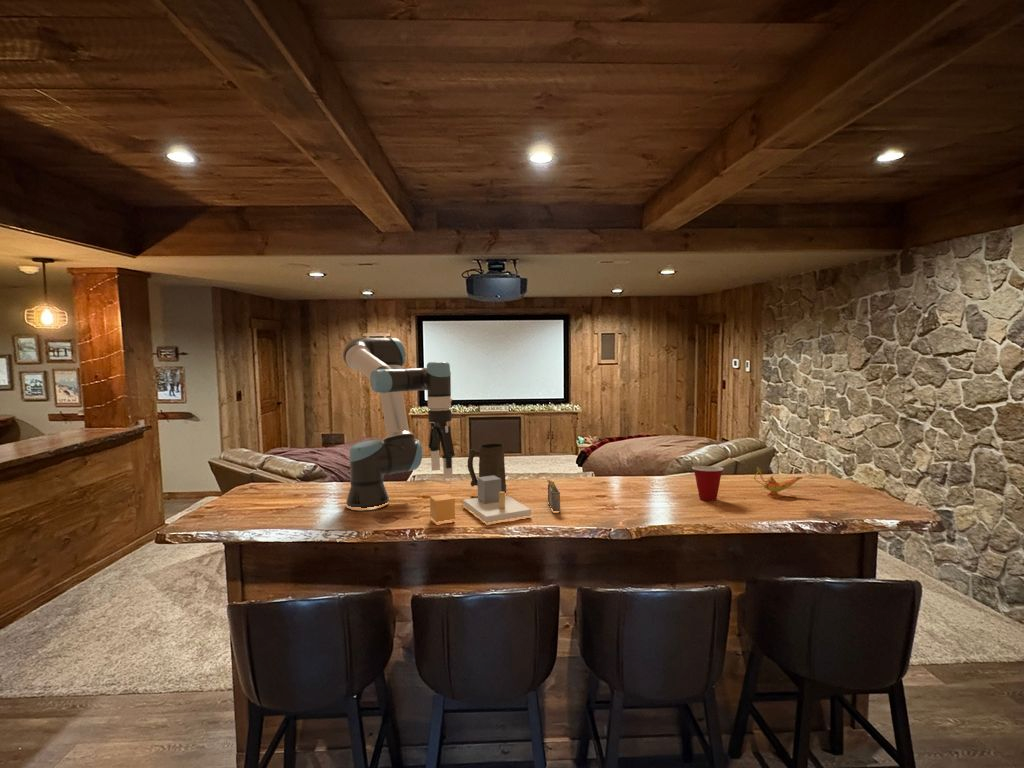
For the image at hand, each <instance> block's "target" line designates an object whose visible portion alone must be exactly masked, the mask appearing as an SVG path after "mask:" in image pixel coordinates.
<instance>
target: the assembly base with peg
mask: <svg viewBox="0 0 1024 768" xmlns="http://www.w3.org/2000/svg"><path fill="white" fill-rule="evenodd" d="M476 478H477V480H478V486H477V497H474V498H465V499H463V500H462V505H463V504H464V505H465V506H466V507H467V508H469V509H470V510H471V511H472V512H474V513H475V514H476V515H477V516H479V517H480V518H481V519H482V520H483V521H485V522H486V523H488V522H493V521H498V520H505V519H510V518H517V517H523V516H530V515H531V516H532V509H531V508H530V507H528V506H526V505H524V504H522V503H521V502H519V501H517V500H516V499H514V498H512V497H510V496H508V495H505V492H501V479H500V478H498V477H496V476H494V475H492V476H484V477H479V476H478V477H477V476H476Z"/></svg>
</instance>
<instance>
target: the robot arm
mask: <svg viewBox="0 0 1024 768" xmlns="http://www.w3.org/2000/svg"><path fill="white" fill-rule="evenodd" d="M342 357H343V358H342V359H343V361H344V363H345V364H346V365H347V366H348V367H349V368H351V369H353V370H355V371H359V373H361V374H362V375H363V376H365V377H366V378H368V379H369V384H370V388H371V390H372V391H373V392H374V393H378V394H379V395H380V401H381V407H382V414H383V415H382V416H383V420H384V426H385V427H384V428H385V433H386V435H385V437H384V438H383V441H382V440H380V439H373V440H367V441H362V442H358V443H356V444H354V445H352V446H351V447H350V448H349V449H350V450H349V458H348V461H349V476H350V487H349V491H348V495H347V499H346V501H345V503H346V504H347V505H348V506H351V507H361V508H367V507H374V506H379V505H382V504H385V503H387V502H388V501H389V502H390V498H389V495H388V491H387V489H386V486H385V484H384V476H386V475H392V474H399V473H404V472H405V473H408V472H410V471H415V470H417V469H419V467H420V465H421V463H422V460H423V446H422V443H421V441H420V440H419V439H415V434H414V433H413V432H412V431H410V428H409V424H408V423H409V422H408V418H407V417H408V416H407V411H406V405H405V399H404V393H403V392H415V391H418V392H419V391H427V409H429V410H428V411H427V413H428V414H427V415H428V416H427V418H428V422H430V433H429V442H428V448H429V450H430V459H431V461H430V463H431V471H432V472H433V471H440V470H441V463H440V462H441V460H440V450H442V454H443V455H442V456H441V458H442V464H443V465H442V466H443V468H442V469H443V471H442V472H443V479H444V480H446V479H453V476H454V474H453V473H454V472H453V457H455V449H454V443H453V437H452V432H451V430H452V429H451V425H447V423H449V422H451V421H452V420H453V419H452V417H453V416H452V409H451V408H452V401H453V398H452V397H451V395H452V387H451V386H452V385H451V384H452V382H451V374H452V373H451V366H450V363H449V362H448V361H433V362H431V361H430V362H427V364H426V367H416V368H415V367H414V368H403V366H404V365H405V364H406V360H407V358H406V357H407V352H406V349H405V347H404V344H403V343H402V340H400V339H399V338H397V337H389V336H387V337H358V338H355V339H352V340H351V341H349V342H348V343H347V344H346V346H345V347H344V349H343V352H342ZM440 445H441V446H440ZM440 447H441V448H440Z"/></svg>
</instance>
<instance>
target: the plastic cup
mask: <svg viewBox="0 0 1024 768" xmlns="http://www.w3.org/2000/svg"><path fill="white" fill-rule="evenodd" d="M691 468H692V470H693V473H694V477H695V481H696V486H697V487H696V488H697V491H698V497H699V500H700V501H703V502H716V501H717V498H718V492H719V489H720V482H721V478H722V474H723V471H724V467H721V466H713V465H711V466H710V465H695V466H692V467H691Z"/></svg>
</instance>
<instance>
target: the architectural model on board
mask: <svg viewBox="0 0 1024 768" xmlns="http://www.w3.org/2000/svg"><path fill="white" fill-rule="evenodd" d="M546 481H547V483H548V484H547V503H548V502H549V504H550V506H551V508H552V509H553V511H560V512H561V492H560V490H559V488H558V487H557V485H556V483H555V481H552V480H549V479H546ZM549 504H548V505H549Z"/></svg>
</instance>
